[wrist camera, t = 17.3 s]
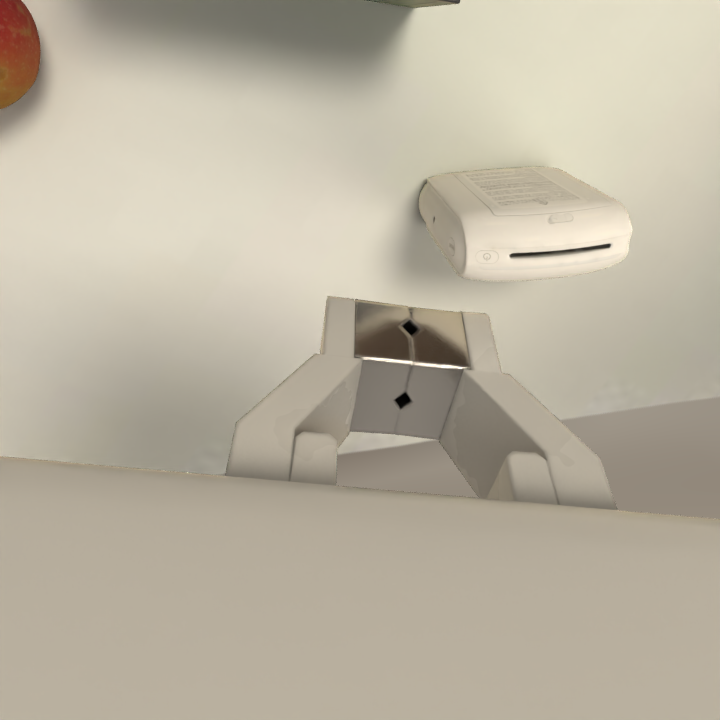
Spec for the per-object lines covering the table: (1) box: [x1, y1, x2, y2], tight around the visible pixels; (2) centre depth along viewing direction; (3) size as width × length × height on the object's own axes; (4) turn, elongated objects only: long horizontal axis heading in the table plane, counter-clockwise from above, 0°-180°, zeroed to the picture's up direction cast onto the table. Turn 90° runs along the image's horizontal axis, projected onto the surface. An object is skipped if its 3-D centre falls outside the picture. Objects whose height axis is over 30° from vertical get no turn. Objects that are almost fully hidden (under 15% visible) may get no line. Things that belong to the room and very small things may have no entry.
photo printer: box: [419, 167, 632, 281], centre depth 39 cm, size 10×4×12 cm, turn 93°
